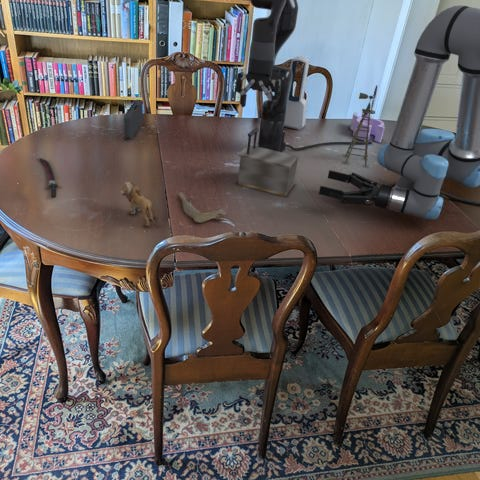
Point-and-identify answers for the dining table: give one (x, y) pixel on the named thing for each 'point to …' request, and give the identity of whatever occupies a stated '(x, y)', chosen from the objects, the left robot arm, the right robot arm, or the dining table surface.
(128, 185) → the lion figurine
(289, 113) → the electronic device
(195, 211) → the jawbone
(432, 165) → the right robot arm
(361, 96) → the miniature windmill
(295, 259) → the dining table surface
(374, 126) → the clip
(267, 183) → the chest
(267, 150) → the panel with bar handle
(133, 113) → the handheld gaming console
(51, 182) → the sword
